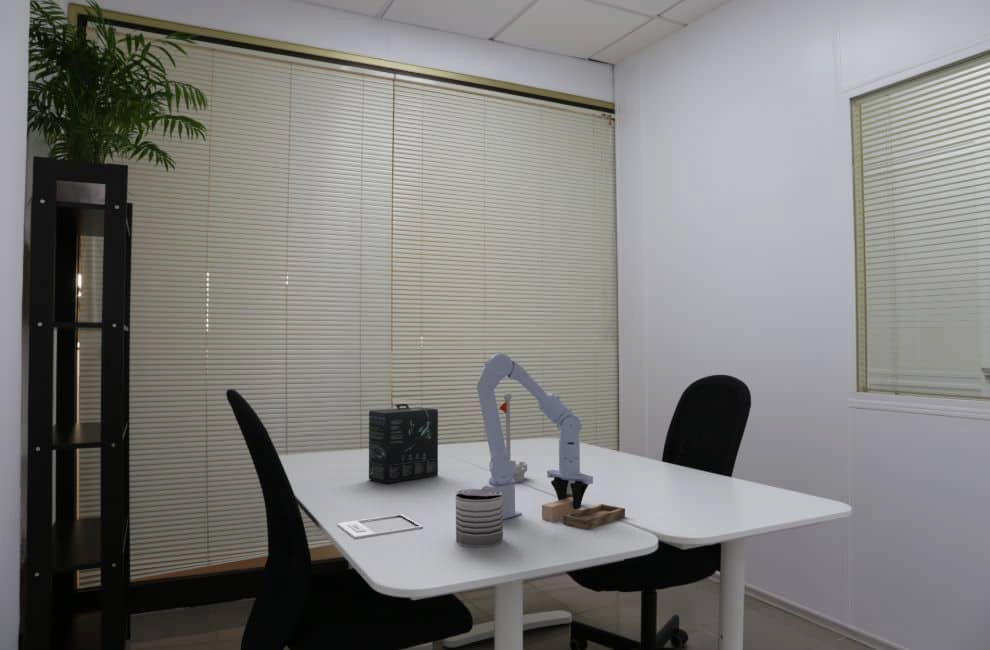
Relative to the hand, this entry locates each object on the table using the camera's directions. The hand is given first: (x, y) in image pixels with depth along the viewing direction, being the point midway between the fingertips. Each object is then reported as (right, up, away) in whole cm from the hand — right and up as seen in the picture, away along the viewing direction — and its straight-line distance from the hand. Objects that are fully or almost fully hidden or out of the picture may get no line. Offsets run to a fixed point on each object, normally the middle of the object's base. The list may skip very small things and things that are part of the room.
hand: (569, 506), depth 188 cm
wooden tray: (+6, -1, -8) cm, 10 cm away
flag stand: (-16, -3, +48) cm, 51 cm away
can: (-24, -2, -25) cm, 35 cm away
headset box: (-53, -4, +52) cm, 75 cm away
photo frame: (-50, -3, -12) cm, 52 cm away
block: (-3, -2, -3) cm, 4 cm away
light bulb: (+1, -2, +13) cm, 13 cm away
